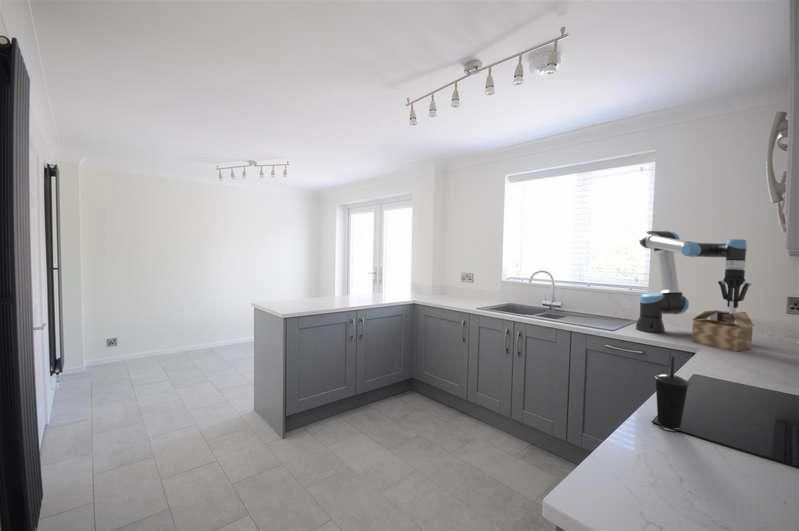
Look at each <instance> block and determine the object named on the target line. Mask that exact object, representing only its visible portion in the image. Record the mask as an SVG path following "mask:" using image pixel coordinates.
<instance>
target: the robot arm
mask: <svg viewBox="0 0 799 531" xmlns="http://www.w3.org/2000/svg"><path fill="white" fill-rule="evenodd" d="M639 244H640V245H641V247H643V248H645V249H649V250H653V252H654V254H656V255H657V262H658V270H659V276H660V284H661V286H660V287H661V291H660V292H658V293H657V292H650V293H649V292H647V293H643V294H641V296H640V300H639V302H640V303H639V317H638V320H637V321H636V324H635V329H636V330H637V329H638V331H641V330H642V332H646V331H648V333H654V332H658V333H657V334H660V333H661V334H663V333H662V332H664V333H665V331H666V328H665V325H664V322H663V315H682V314H684V313H686V311H687V310H688V309H689V305H690V304H689V300H688V298H687V297H686V296H684V295H683V292H682V291H680V290H679V283H678V282H679V281H678V276H677V268H676V261H675V253H677V254H682V255H683V256H685V257H691V258H693V257H694V258H695V257H698V258H699V257H700V258H701V257H702V258H725V265H724V266H725V267H724V268H725V270H724V278H723V279H722V280H718V281H717V283H718V285H719V287H720V290H721V294H722V295H721V296H722V300H726V301H727V308H728V309H729V310H728V312H729V314H731V313H736V312H737V311H736V309H738V307H739V302H742V301H744V300H745V296H746V294H747V292H748V290H749V288H750V286H752V284H751V283H750V282H748V281H746V279H745V276H746V275H745V274H746V270H745V269H746V259H747V258H746V256H747V248H748V247H747V245H748V244H747V240H746V239H743V238H741V239H740V238H739V239H738V238H737V239H735V238H734V239H727V241H726V243H718V242H717V243H715V242H714V243H712V242H711V243H710V242H709V243H708V242H702V243H701V242H693V241H687V240H684V239H683V240H682V239H680V236H679V235H678V234H677V233H676V232H674V231H669V230H668V231H667V230H665V231H664V230H663V231H661V230H659V231H657V230H648V231H645V232H644V233H642V234H640V237H639ZM742 285H743V286H742ZM741 286H742V287H741ZM740 289H741V291H740Z"/></svg>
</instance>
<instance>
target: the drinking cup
mask: <svg viewBox="0 0 799 531" xmlns="http://www.w3.org/2000/svg"><path fill="white" fill-rule="evenodd" d="M670 360H671V361H670V372H669V373H662V374H655V376H654V380H655V391H656V392H655V393H656V410H657V423H658V422H659V423H660V424H661V425H663V426H665V427H668V428H679V427H680V428H681V426H682V420H683V414H684V410H685V405H686V404H685V403H686V399H687V394H688V393H687V392H688V387H689V386H690V382H689V381H688V380H686V379H685V378H684V377H683V378H682V377H681V376H678V375H675V374H674V371H675V370H674V369H675V356H671V358H670Z"/></svg>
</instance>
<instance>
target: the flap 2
mask: <svg viewBox="0 0 799 531" xmlns="http://www.w3.org/2000/svg"><path fill="white" fill-rule="evenodd" d="M731 314H732V315H733V317H734V319H735V323H736V324H738V325H739V327H740V328H747V327H753V328H754V327H755V325H754V323H753V321H752V319H751V318H750V317H749V315H748V313H747V312H746V311H741V312H737V311H736V312H735V313H731Z"/></svg>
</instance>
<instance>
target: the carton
mask: <svg viewBox="0 0 799 531" xmlns="http://www.w3.org/2000/svg"><path fill="white" fill-rule="evenodd" d="M753 328H754V327H747V328H740V327H739V325H738V324H737V323H735V324H733V323H727V322H721V321H714V320H710V319H708V318H707V319H700V320H692V338H691V342H692V343H695V344H699V345H700V344H701V345H704V346H709V347H714V348H719V349H724V350H728V351H732V352H737V353H740V352H745V351H750V350H752V342H753V341H752V340H753Z"/></svg>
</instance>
